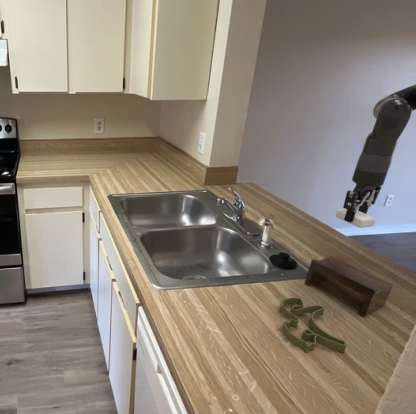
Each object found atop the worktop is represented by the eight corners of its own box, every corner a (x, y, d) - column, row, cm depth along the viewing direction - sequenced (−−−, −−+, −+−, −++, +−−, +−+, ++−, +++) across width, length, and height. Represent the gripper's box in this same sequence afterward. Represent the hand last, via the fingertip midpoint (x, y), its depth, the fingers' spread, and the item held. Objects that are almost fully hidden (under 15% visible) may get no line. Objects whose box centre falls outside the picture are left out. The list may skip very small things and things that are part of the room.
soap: (374, 226, 101) (377, 217, 100) (360, 228, 100) (363, 219, 99) (347, 214, 109) (349, 206, 108) (333, 216, 108) (336, 208, 107)
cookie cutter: (349, 359, 74) (352, 352, 73) (291, 350, 76) (293, 344, 75) (318, 306, 90) (320, 300, 89) (270, 300, 92) (271, 294, 91)
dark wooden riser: (324, 275, 103) (332, 251, 100) (384, 305, 90) (395, 279, 87) (304, 284, 99) (311, 259, 96) (364, 317, 86) (375, 290, 82)
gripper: (372, 174, 91) (353, 228, 98) (400, 168, 97) (380, 219, 104) (343, 167, 98) (328, 219, 104) (371, 162, 103) (354, 210, 110)
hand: (354, 219), depth 104 cm, fingers closed on soap, 6 cm apart
